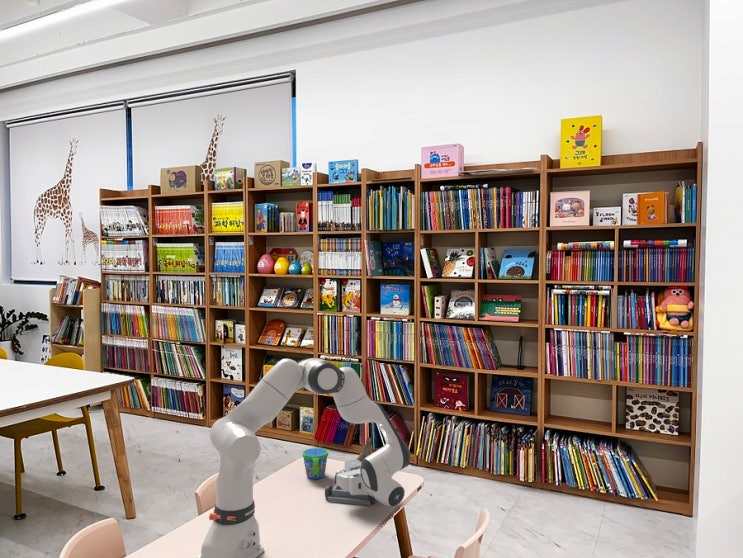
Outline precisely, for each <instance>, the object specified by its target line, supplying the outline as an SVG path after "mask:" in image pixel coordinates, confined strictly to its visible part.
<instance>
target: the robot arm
mask: <svg viewBox="0 0 743 558" xmlns="http://www.w3.org/2000/svg"><path fill="white" fill-rule="evenodd" d="M302 388H303V389H306V390H307V391H309V392H311V393H315V394H318V395H330V394H331V396H332V397H333V400H334V403H335V406H336V408H337V410H338V413H339V415H340V417H341V418H342V419H343V420H344V421H345V422H347V423H350V424H355V425H356V424H357V425H361V424H368V423H375V424H376V425H377V427H378V428H379V430H380V432H381V434H382V435H383V437H384V439H385V441H386V443H385V444H384V446H382V447H380V448H378V449H377V450H376V451H375V452H372V454H371V455H369V456H368V457H366V458H365V459H363V460H362V463H361V468H360V469H356V470H352V471H348V472H346V470H345V468H344V469H340V470H339V474H337V476H336V483H337V485H338V486H339V487H341V488H342V489H344V490H346V491H350V494H351V495H370V496H372V497H374V498H375V499H376V501H378V502H379V503H381V504H383V505H385V506H387V507H396V506H397V505H399V504H400V503H401V502H402V500H403V499H404V497H405V493H406V492H405V488H404V486H402V485H401V483H399V482H398V481H397V480H395V479H394V478H392V477H393V476H394V474H396V473H398V472H400V471H401V470H403V469H405V468H407V467H409V465H410V462H411V458H412V457H411V456H412V453H411V450H410V449H409V447H408V446H407V444H406V443H405V441H404V440H403V439H402V438H401V436H400V434H399V432H398V431H397V428H396V427H395V425H394V423H393V422H392V421H391V418H390V417H389V415H388V414H387V412H386V411H385V409H384V408H383V406H382V405H381V404H380V403H379V402H377V401H373V400H371V398H370V397H369V395H368V394H367V391H366V389H365V385H364V384H363V383H362V380H361V379H360V377H359V375H358V373H357V372H356V370H355V369H354V368H352V367H349V366H343V367H338V366H337V365H335V364H334V363H333V362H331V361H327V360H325V359H323V358H320V357H319V358H318V357H317V358H316V357H306V358H304V359H301V360H298V361H296V360H293V359H291V358H282V359H281V360H279V361H278V362H277V363H276V364H274V366H272V367H271V368H270V369H269V370H268V371H267V372H266V374H264V376H263V377H262V378H261V379H260V381H258V383H257V384H256V386H255V387H254V388H252V390H251V391H250V392H249V394H248V395H247V396H246V397H245V398H244V399H243V400H242V401H241V402H240V403H239V404H238V405H237V406H236V407H234V408H233V409H231V411H229V413H227V414H226V415H225V416H223V417H221V418H219V419H217V420H216V421H215V422H214V423H213V424H212V425H211V428H210V433H209V434H210V441H211V444H212V446H213V448H214V449H215V450H216V451H217V452H218V455H219V458H220V463H219V470H218V475H217V477H216V479H215V489H216V490H215V492H216V493H215V497H216V498H215V499H216V500H215V502H216V503H215V504H214V509H213V512H211V513H209V516H208V520H209V521H212V522H211V523H210V527H209V528H208V531H207V533H206V535H205V537H204V539H203V542H202V544H201V549H200V550H201V551H200V553H199V554H198V556H197V558H257V557H259V556H260V555H261V554H262V553H263V552H265V547H264V546H263V545H262V544H261V536H260V526H259V525H260V524H259V522H258V520H257V519H256V517H255V508H256V504H255V500H254V472H255V467H256V463H257V460H258V459H259V456H260V454H261V444H260V443H261V442H260V440H259V439H258V437H257V435H256V432H257V431H259V430H260V429H261V428H262V427H264V426H265V425H267V424H269V423H271V422H273V421H274V420H275V418H276V417H277V416H278V415H279V413H280V412H281V411H282V410H283V409H284V407H285V406H286V405H287V403H288V402H289V400H290V399H291V398H292V397H293V396H294V394H295V393H296V392H297V391H298V390H300V389H302Z"/></svg>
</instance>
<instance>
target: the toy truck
mask: <svg viewBox="0 0 743 558" xmlns="http://www.w3.org/2000/svg"><path fill="white" fill-rule="evenodd" d="M339 473H340V471H339V472H337V471H336V472H335V474H334V484H335V485H334V486H333V485H330V484H329V485H328V484H327V485H326V486H325V489H324V497H325V498H327V502H329V503H340V504H349V505H361V506H371V503H376V502H377V500H376V499H375V498H374V497H372V496H370V495H351V494H350V491H346V490H344V489H342V488H341V487H339V486H338V485H337V483H336V476H337V474H339Z"/></svg>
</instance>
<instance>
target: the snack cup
mask: <svg viewBox="0 0 743 558" xmlns="http://www.w3.org/2000/svg"><path fill="white" fill-rule="evenodd" d="M328 456H329V450H328V449H325V448H321V447H314V448H313V447H311V448H308V449H305V450H303V451H302V457H303V463H304V468H305V476H306V477H307V479H311V480H312V479H313V480H319V479H322V478H324V477H325V475H326V469H327V468H326V467H327V461H328Z"/></svg>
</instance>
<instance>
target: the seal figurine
mask: <svg viewBox="0 0 743 558" xmlns="http://www.w3.org/2000/svg"><path fill="white" fill-rule="evenodd" d="M365 442H366V443H365V444H364V445H363V447H362V450H361V452H360V453H359V455H358V457H357V458H356V459H357V460H359V461H360V462H362V460H363V459H365V458H366V457H368V456H369V455H371V454H372V453H373V445H372V438H371V437H367V439H366V441H365Z"/></svg>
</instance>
